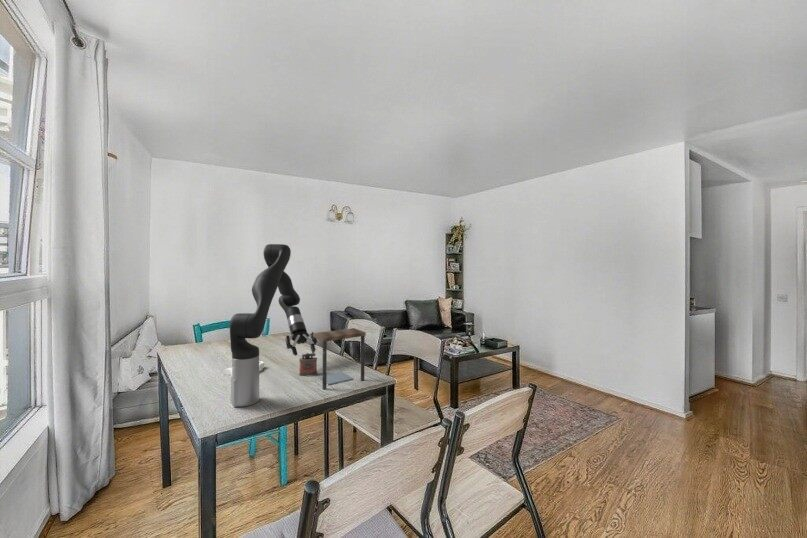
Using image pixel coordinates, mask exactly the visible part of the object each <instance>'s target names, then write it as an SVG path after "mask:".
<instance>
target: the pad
mask: <svg viewBox="0 0 807 538" xmlns="http://www.w3.org/2000/svg"><path fill="white" fill-rule="evenodd" d="M317 378H318V379H319V378H320V379H321V380H320V379H319V380H320V381H322V382H323V374H322V375H321V374H320V375H317ZM348 380H349V381H352V380H354V378H353V377H351V376H350V375H348V374H347V373H345V372H343V371H342V370H341V371H335V372H331V373H327V381H326V385H327V384H328V385H327V386H330V384H331V385H334V383H336V384H339V382H340V383H344V382H348ZM343 381H344V382H343Z"/></svg>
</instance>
